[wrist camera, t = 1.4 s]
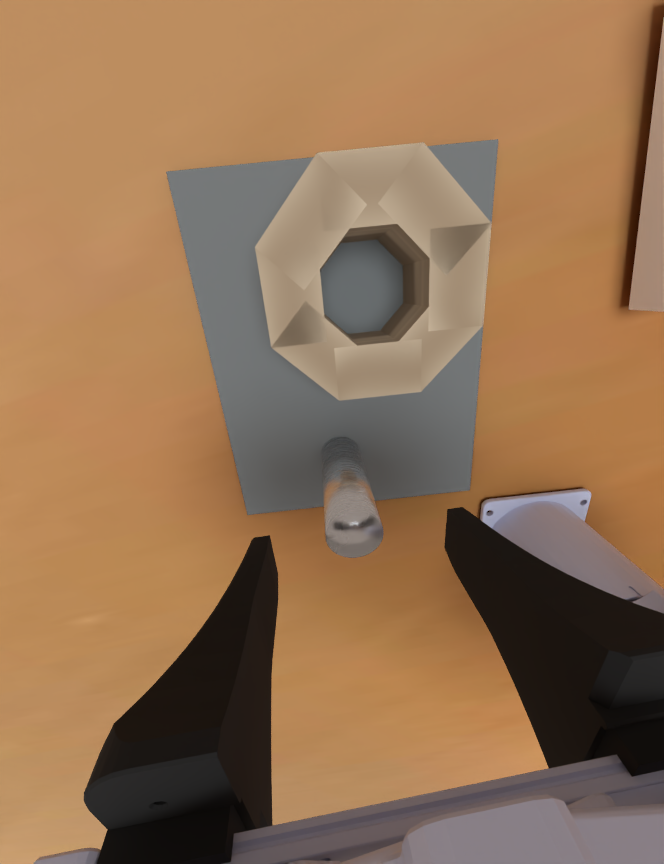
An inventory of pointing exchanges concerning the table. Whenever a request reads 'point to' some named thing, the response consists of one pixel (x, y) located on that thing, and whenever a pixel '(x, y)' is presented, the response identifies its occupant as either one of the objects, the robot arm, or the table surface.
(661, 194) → the bracket
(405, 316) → the ring
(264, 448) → the mat
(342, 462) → the peg
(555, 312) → the table surface
